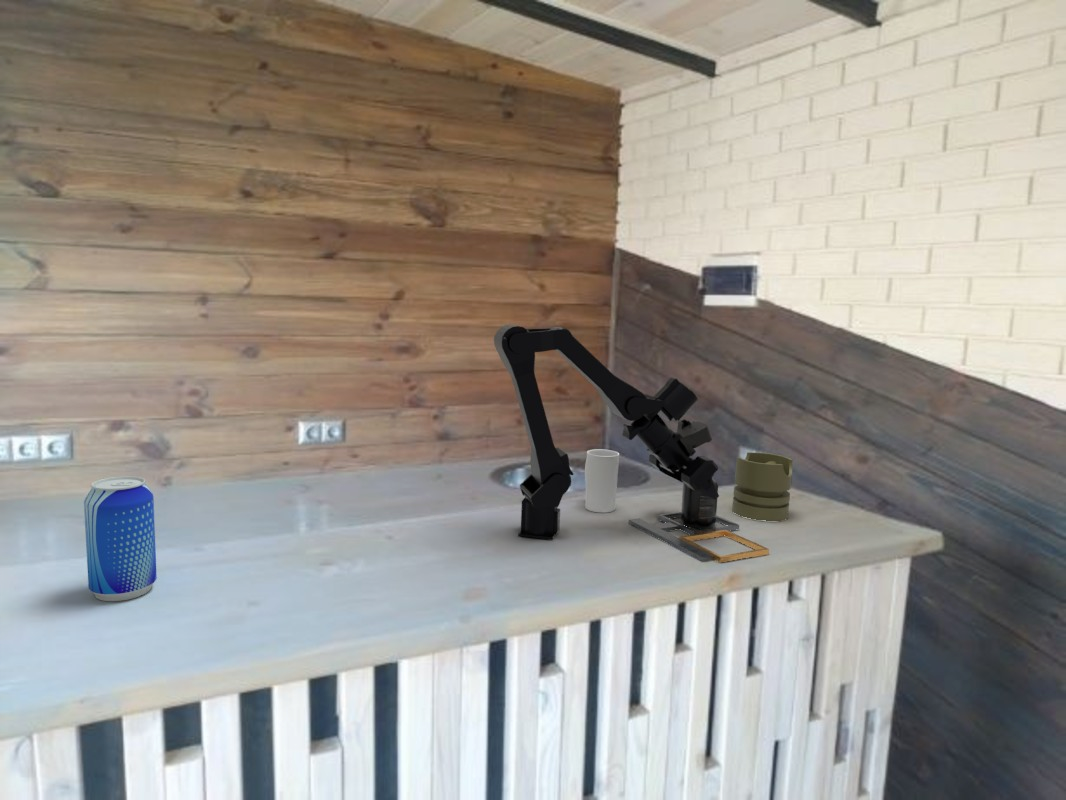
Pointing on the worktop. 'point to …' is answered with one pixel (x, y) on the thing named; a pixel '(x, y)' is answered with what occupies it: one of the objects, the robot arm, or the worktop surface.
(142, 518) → the beer can
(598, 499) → the mug
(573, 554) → the worktop surface
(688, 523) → the supplement bottle
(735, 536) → the silver gold metal frame
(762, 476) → the piston
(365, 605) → the worktop surface
